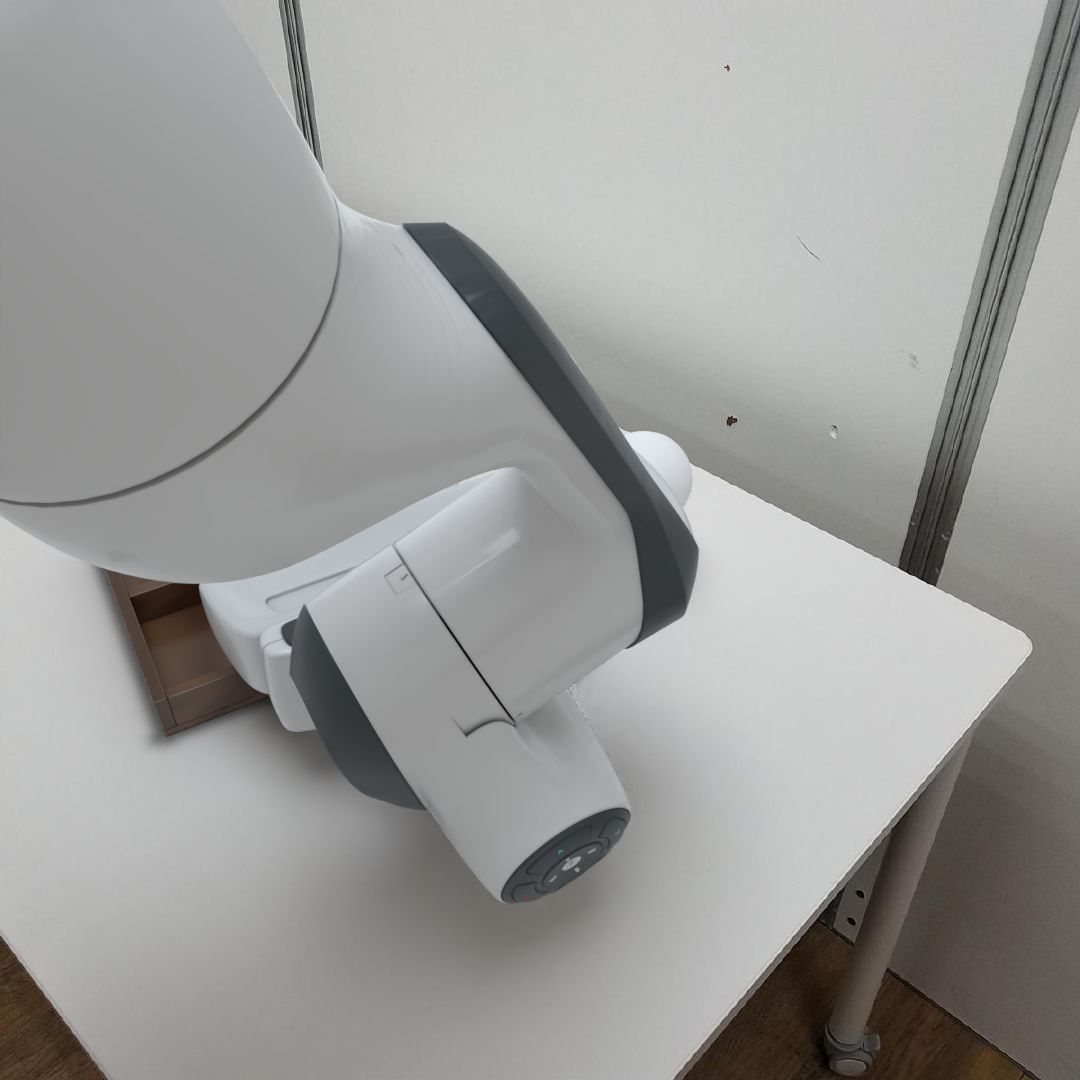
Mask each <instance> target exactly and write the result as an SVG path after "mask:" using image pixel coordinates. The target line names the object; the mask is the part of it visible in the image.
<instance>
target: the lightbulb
mask: <svg viewBox="0 0 1080 1080" xmlns="http://www.w3.org/2000/svg"><path fill="white" fill-rule="evenodd" d="M623 435H624V436H625V438H626V439H627V441H628V443H629V444H630V446H631V447H632V448H633V449H634V450H636V451H637V452H638V453H639V454H640V455H642V456H643V457H644V458H645V459H646V460H647V461H648V462H649V463H650V464H651V465H652V466H653V467H654V468H655V469H656V470H657V472H658V473H659V474H660V475H661V476H662V477H663V479H664V480H665V481H666V483H667V484H668V485H669V487H670V488H671V489H672V491H673V492H674V494H675V495H676V497H677V498H678V500H679V502H680V504H681V506H682V507H683V508H684V507H685V506H686V505H687V504H688V503H687V502H688V500H689V497H690V496H691V493H692V490H693V480H694V478H693V470H692V466H691V465H692V464H691V462H690V460H689V458H688V455H687V454H686V453H685V451H684V450H683V448H682V447H681V446H680V445H679V444H678V443H677V442H675V440H673V439H672V438H671V437H669V436H667V435H665V434H663V433H660V432H655V431H650V430H649V431H648V430H639V431H632V432H628V433H626V434H623Z"/></svg>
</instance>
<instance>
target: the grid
mask: <svg viewBox="0 0 1080 1080" xmlns="http://www.w3.org/2000/svg"><path fill="white" fill-rule="evenodd" d="M104 571H105V574H106V577H107V579H108V582H109V584H110V588H111V590H112V593H113V596H114V598H115V601H116V603H117V607H118V610H119V612H120V615H121V619H122V621H123V623H124V626H125V629H126V632H127V634H128V638H129V639H130V643H131V645H132V649H133V651H134V654H135V657H136V659H137V663H138V665H139V668H140V671H141V673H142V676H143V680H144V682H145V685H146V687H147V690H148V693H149V696H150V699H151V701H152V704H153V707H154V710H155V712H156V715H157V717H158V720H159V723H160V726H161V728H162V731H163V733H164V736H165V737H168V736H171V735H173V734H175V733H178V732H181V731H184V730H185V729H188V728H191V727H194V726H196V725H199V724H202V723H204V722H207V721H209V720H212V719H215V718H217V717H220V716H222V715H225V714H228V713H231V712H233V711H236V710H238V709H241V708H243V707H246V706H248V705H251V704H253V703H256V702H258V701H261V700H264V699H266V698H270V696H269V694H265V693H262V692H260V691H258V690H256V689H254V688H253V687H251V686H250V685H249V684H248V683H247V682H246V681H245V680H244V679H243V678H242V677H241V675H240V674H239V673H238V671H237V670H236V669H235V667H234V666H233V665H232V663H231V662H230V660H229V659H228V657H227V656H226V654H225V653H224V651H223V649H222V648H221V646H220V644H219V642H218V640H217V639H216V637H215V635H214V633H213V631H212V628H211V626H210V624H209V621H208V618H207V616H206V613H205V610H204V607H203V604H202V600H201V596H200V592H199V585H200V584H186V583H172V582H163V581H156V580H150V579H145V578H139V577H135V576H131V575H126V574H122V573H119V572H115V571H111V570H108V569H104Z"/></svg>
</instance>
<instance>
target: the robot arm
mask: <svg viewBox="0 0 1080 1080" xmlns="http://www.w3.org/2000/svg"><path fill="white" fill-rule="evenodd" d="M619 427H620V426H619V425H618V424H617V423H616V421H615V419H614V417H613V416H612V415H611V413H610V412H609V411H608V409H607V407H606V406H605V404H604V402H603V401H602V399H601V398H600V396H599V395H598V393H597V392H596V391H595V389H594V388H593V386H592V384H591V383H590V381H589V380H588V378H587V377H586V375H585V373H584V372H583V371H582V369H581V367H580V366H579V364H578V362H576V360H575V358H574V357H573V356H572V354H571V353H570V351H569V350H568V348H567V347H566V346H564V344H563V343H562V341H561V340H560V339H559V338H558V336H557V335H556V334H555V332H554V331H553V329H552V328H551V327H550V326H549V324H548V323H547V322H546V320H545V318H544V317H543V316H542V315H541V314H540V312H539V310H538V309H537V308H536V307H535V306H534V305H533V303H532V302H531V300H529V298H528V297H527V296H526V295H525V294H524V292H523V291H522V289H521V288H520V287H519V286H518V285H517V284H516V283H515V281H514V280H513V279H512V278H511V277H510V276H509V274H508V273H507V272H506V271H505V270H504V269H503V268H502V266H501V265H499V263H498V262H497V261H496V260H495V259H494V258H493V257H492V256H491V255H490V254H489V253H487V251H485V249H483V248H482V247H481V246H480V245H479V244H478V243H477V242H475V241H474V240H473V239H471V238H470V237H468V236H467V235H466V234H464V233H463V232H462V231H461V230H458V229H457V228H455V227H454V226H452V225H450V224H449V223H447V222H445V221H443V222H442V221H440V222H439V221H438V222H402V225H399V224H393V223H388V222H385V221H382V220H379V219H376V218H373V217H371V216H370V217H369V216H368V215H365V214H363V213H360V212H358V211H356V210H354V209H353V208H351V207H349V206H347V205H346V204H344V203H343V202H342V201H341V200H340V199H339V198H338V197H337V196H336V194H335V192H334V190H333V188H332V186H331V184H330V182H329V181H328V179H327V178H326V176H325V174H324V171H323V169H322V167H321V166H320V164H319V162H318V160H317V159H316V155H314V153H313V151H312V148H311V147H310V145H309V144H308V141H307V140H306V138H305V136H304V134H303V133H302V131H301V129H300V127H299V125H298V123H297V120H296V119H295V118H294V116H293V115H292V113H291V111H290V110H289V107H288V106H287V104H286V103H285V102H284V99H283V98H282V97H281V95H280V93H279V92H278V90H277V89H276V87H275V85H274V83H273V82H272V80H271V78H270V77H269V75H268V74H267V72H266V70H265V69H264V67H263V66H262V64H261V62H260V61H259V59H258V58H257V56H256V55H255V54H254V52H253V50H252V49H251V47H250V46H249V45H248V43H247V42H246V40H245V39H244V37H243V35H242V34H241V32H240V31H239V30H238V28H237V27H236V26H235V24H234V23H233V21H232V20H231V18H230V17H229V15H228V14H227V12H226V11H225V10H224V8H223V6H222V5H221V3H220V2H219V1H218V0H0V517H1V518H3V519H4V520H6V521H8V522H9V523H11V524H12V525H14V526H15V527H17V528H18V529H20V530H22V531H23V532H25V533H27V534H28V535H30V536H32V537H34V538H35V539H37V540H39V541H41V542H43V543H44V544H46V545H47V546H49V547H51V548H54V549H55V550H58V551H59V552H62V553H63V554H66V555H67V556H70V557H72V558H75V559H77V560H79V561H82V562H84V563H87V564H90V565H92V566H95V567H98V568H101V569H104V570H105V569H108V570H111V571H115V572H119V573H122V574H126V575H131V576H135V577H139V578H145V579H150V580H156V581H163V582H172V583H186V584H200V585H199V592H200V596H201V600H202V604H203V607H204V610H205V613H206V616H207V618H208V621H209V624H210V626H211V628H212V631H213V633H214V635H215V637H216V639H217V640H218V642H219V644H220V646H221V648H222V649H223V651H224V653H225V654H226V656H227V657H228V659H229V660H230V662H231V663H232V665H233V666H234V667H235V669H236V670H237V671H238V673H239V674H240V675H241V677H242V678H243V679H244V680H245V681H246V682H247V683H248V684H249V685H250V686H251V687H253V688H254V689H256V690H258V691H260V692H262V693H265V694H269V699H270V701H271V705H272V707H273V709H274V711H275V713H276V715H277V717H278V719H279V721H280V723H281V724H282V726H283V728H285V729H286V730H287V731H290V732H294V733H296V732H298V733H300V732H309V731H315V730H316V732H317V733H318V735H319V738H320V739H321V741H322V743H323V745H324V747H325V749H326V751H327V753H328V754H329V755H328V756H329V757H330V758H331V760H332V762H333V763H334V766H336V767H337V769H338V771H339V772H340V774H342V776H343V777H344V779H346V780H347V781H348V782H349V784H350V785H351V786H352V787H353V788H355V789H356V790H357V791H358V792H360V793H361V794H363V795H365V796H367V797H369V798H372V799H376V800H377V801H380V802H381V801H382V802H384V803H388V804H391V805H393V806H397V807H401V808H405V809H409V810H413V811H414V810H415V811H422V812H423V811H424V812H426V811H427V810H428V811H429V812H430V814H431V816H432V817H433V819H434V820H435V822H436V823H437V824H438V826H439V827H440V829H441V831H442V832H443V834H444V835H445V837H446V838H447V840H448V841H449V842H450V844H451V845H452V847H453V848H454V849H455V851H456V852H457V854H458V855H459V856H460V857H461V859H462V860H463V861H464V863H465V864H466V865H467V867H468V868H469V869H470V871H471V872H472V874H474V876H475V877H476V878H477V879H478V881H479V882H480V884H482V886H483V887H484V888H485V889H486V890H487V891H488V892H489V893H490V894H491V895H492V897H494V898H495V899H496V900H497V901H499V902H501V903H503V904H508V905H511V904H512V905H513V904H521V903H530V902H534V901H538V900H539V899H541V898H543V897H545V896H548V895H552V894H554V893H556V892H557V891H559V890H561V889H562V888H564V887H566V886H567V885H569V884H570V883H571V882H573V881H574V880H576V879H578V878H580V876H582V875H583V874H585V873H586V872H587V871H589V869H591V868H592V867H594V866H595V865H596V864H598V863H599V862H600V861H602V859H604V858H605V857H606V856H607V855H608V854H610V852H611V850H612V849H613V848H614V846H615V845H616V844H618V843H619V841H620V840H621V839H622V837H623V835H624V833H625V831H626V829H627V827H628V825H629V823H630V821H631V818H632V806H631V803H630V799H629V797H628V795H627V792H626V790H625V788H624V786H623V783H622V782H621V779H620V778H619V777H620V776H619V775H618V773H617V772H616V769H615V767H614V766H613V764H612V762H611V760H610V758H609V755H608V754H607V752H606V751H605V748H604V747H603V745H602V743H601V741H600V739H599V737H598V736H597V734H596V732H595V731H594V729H593V728H592V726H591V724H590V723H589V721H588V720H587V718H586V716H585V715H584V713H583V712H582V710H581V708H580V707H579V705H578V703H577V702H576V701H575V699H574V698H573V697H572V695H571V693H570V692H569V691H568V689H570V688H571V687H573V686H574V685H575V684H577V683H579V682H580V681H581V680H582V679H584V678H586V677H587V676H588V675H590V674H591V673H592V672H594V671H595V670H597V669H598V668H599V667H601V666H602V665H604V664H605V663H607V662H608V661H609V660H611V659H612V658H614V657H615V656H616V655H618V654H619V653H621V652H623V651H624V650H629V649H631V648H633V647H635V646H636V645H638V644H640V643H641V642H643V641H645V640H647V639H648V638H650V637H652V636H653V635H655V634H657V633H658V632H660V631H662V630H663V629H665V628H666V627H668V626H670V625H672V624H674V623H675V622H677V621H678V620H680V619H683V617H684V616H685V614H686V613H687V609H688V607H689V604H690V601H691V597H692V594H693V590H694V587H695V583H696V577H697V572H698V566H699V559H700V558H699V557H700V548H699V546H698V544H697V541H696V540H695V535H694V531H693V528H692V525H691V522H690V521H689V518H688V515H687V513H686V512H685V509H684V507H682V506H681V504H680V502H679V500H678V498H677V497H676V495H675V494H674V492H673V491H672V489H671V488H670V487H669V485H668V484H667V483H666V481H665V480H664V479H663V477H662V476H661V475H660V474H659V473H658V472H657V470H656V469H655V468H654V467H653V466H652V465H651V464H650V463H649V462H648V461H647V460H646V459H645V458H644V457H643V456H642V455H640V454H639V453H638V452H637V451H636V450H634V449H633V448H632V447H631V446H630V444H629V443H628V441H627V439H626V438H625V436H624V435H625V434H624V433H623V432H622V430H621V429H620V428H619ZM496 470H497V471H496ZM492 471H496V472H492ZM489 472H492V473H489ZM486 473H489V474H487V475H484V476H481V477H478V478H475V479H472V478H473V477H476V476H479V475H483V474H486ZM468 479H472V480H468ZM466 480H468V481H466ZM463 481H466V482H463ZM461 482H463V483H461ZM460 483H461V484H460Z"/></svg>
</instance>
